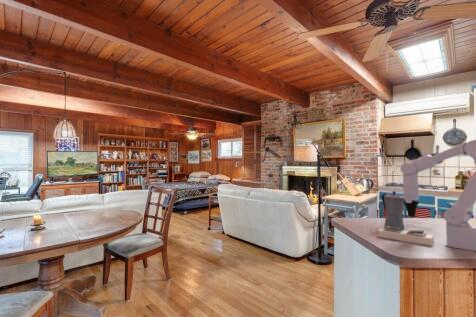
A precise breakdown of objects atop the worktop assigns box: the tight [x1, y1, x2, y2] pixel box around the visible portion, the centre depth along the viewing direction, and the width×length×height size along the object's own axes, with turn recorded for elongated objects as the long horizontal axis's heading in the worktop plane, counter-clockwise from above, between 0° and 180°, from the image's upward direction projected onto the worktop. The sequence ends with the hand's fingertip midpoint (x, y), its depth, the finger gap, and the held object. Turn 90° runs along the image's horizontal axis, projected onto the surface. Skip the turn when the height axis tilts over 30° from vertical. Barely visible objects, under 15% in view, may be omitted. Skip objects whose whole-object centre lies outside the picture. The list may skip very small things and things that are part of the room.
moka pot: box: [381, 190, 406, 231], centre depth 128 cm, size 10×15×20 cm, turn 12°
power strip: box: [377, 227, 435, 247], centre depth 109 cm, size 20×7×3 cm, turn 46°
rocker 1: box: [386, 226, 400, 230], centre depth 112 cm, size 5×3×1 cm, turn 46°
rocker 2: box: [408, 229, 425, 233], centre depth 106 cm, size 5×3×1 cm, turn 46°
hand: (411, 216), depth 113 cm, fingers closed
